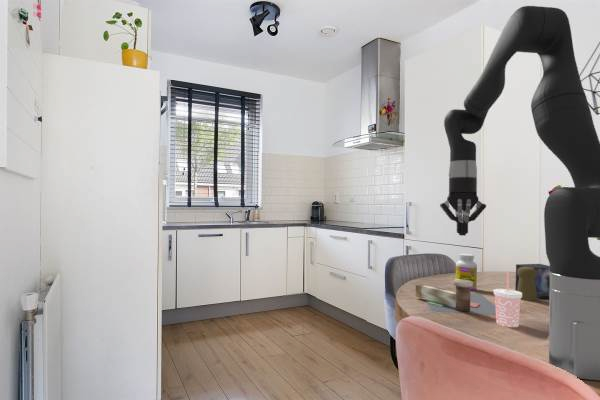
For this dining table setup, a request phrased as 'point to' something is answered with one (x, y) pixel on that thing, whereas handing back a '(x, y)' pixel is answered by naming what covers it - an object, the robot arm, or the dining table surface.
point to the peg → (448, 294)
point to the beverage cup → (507, 306)
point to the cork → (527, 283)
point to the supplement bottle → (467, 269)
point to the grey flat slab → (476, 306)
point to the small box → (538, 279)
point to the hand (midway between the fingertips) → (462, 235)
